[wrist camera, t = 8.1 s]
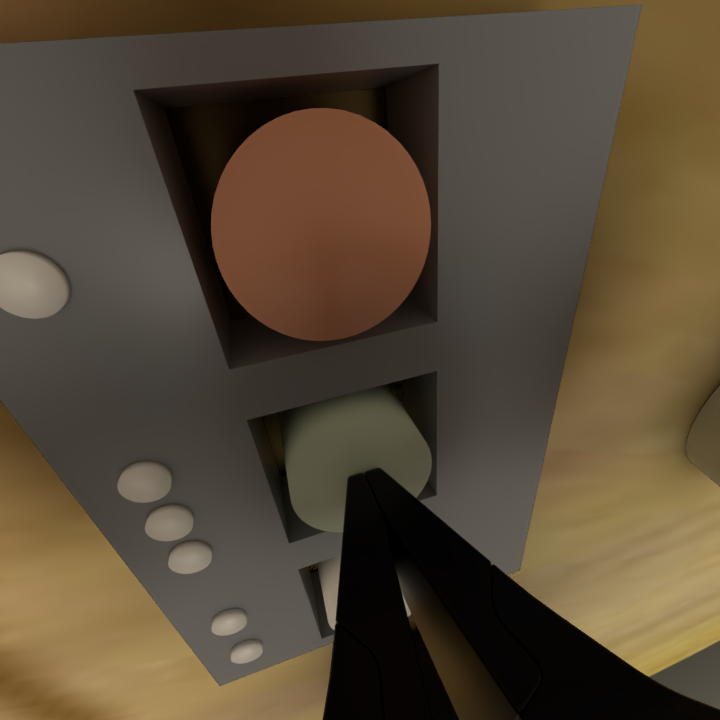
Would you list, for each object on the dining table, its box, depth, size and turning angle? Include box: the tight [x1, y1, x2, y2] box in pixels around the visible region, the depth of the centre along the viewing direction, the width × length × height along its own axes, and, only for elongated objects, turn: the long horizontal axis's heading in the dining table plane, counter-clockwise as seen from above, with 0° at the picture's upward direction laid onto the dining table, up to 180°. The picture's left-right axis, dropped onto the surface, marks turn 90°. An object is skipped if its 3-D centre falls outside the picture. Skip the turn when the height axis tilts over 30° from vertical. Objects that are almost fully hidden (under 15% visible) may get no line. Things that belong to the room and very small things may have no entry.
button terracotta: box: [211, 108, 431, 341], centre depth 7 cm, size 4×4×3 cm
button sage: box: [278, 384, 432, 533], centre depth 10 cm, size 4×4×3 cm
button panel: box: [0, 5, 642, 686], centre depth 10 cm, size 17×12×3 cm
